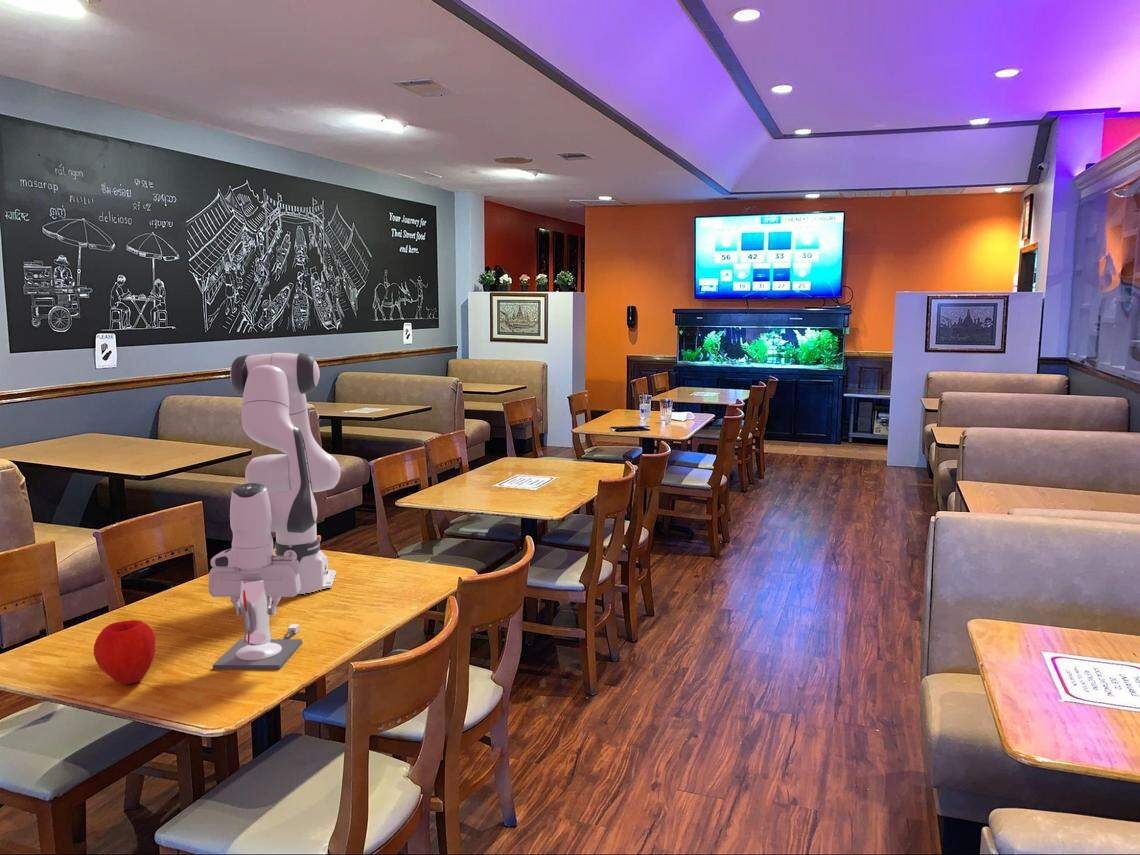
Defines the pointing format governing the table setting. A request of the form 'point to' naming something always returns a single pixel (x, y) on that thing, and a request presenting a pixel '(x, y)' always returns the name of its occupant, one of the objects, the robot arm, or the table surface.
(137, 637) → the apple
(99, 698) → the table surface
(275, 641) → the charging dock
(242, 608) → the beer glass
